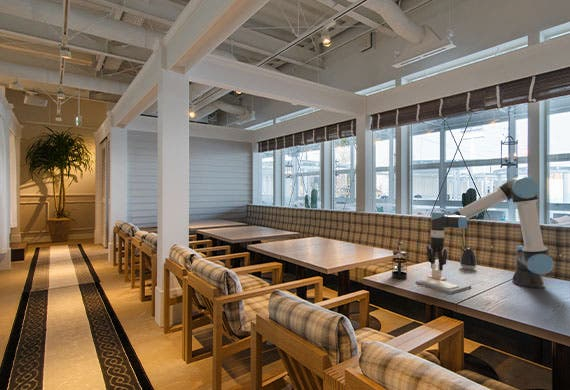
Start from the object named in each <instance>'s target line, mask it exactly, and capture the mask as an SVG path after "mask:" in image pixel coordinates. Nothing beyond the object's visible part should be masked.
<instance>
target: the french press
mask: <svg viewBox="0 0 570 390" xmlns="http://www.w3.org/2000/svg"><path fill="white" fill-rule="evenodd" d="M396 244H398V246H401V245H402V244H404V242H403V241H397V242H396ZM407 254H408V251H406V250H401V248H399V249H396V250H395V249H394V250H392V255H393V256H396V255H399V257H392V259H391V263H392V264H391V270H392V271H391V278H392V279H393V280H397V281H407V280H408V268H407V267H404V266H402V264H408V259H407V258H404V257H407ZM401 255H402V256H403V258H402V257H401ZM393 263H397V266H396V265H395V266H393Z"/></svg>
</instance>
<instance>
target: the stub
mask: <svg viewBox="0 0 570 390" xmlns="http://www.w3.org/2000/svg"><path fill="white" fill-rule="evenodd" d="M426 278H434V279H438V280H440V281H442V280H446V279H447V277H443V276H442V275H441V276H438V267H436V268H434V269H432V268H431V274H429V275H427V276H426Z"/></svg>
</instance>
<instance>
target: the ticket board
mask: <svg viewBox="0 0 570 390" xmlns="http://www.w3.org/2000/svg"><path fill="white" fill-rule="evenodd" d="M415 284H417V285H419V286H424V287H427V288H429V289H434V290H437V291H439V292H444V293H446V294H449V295H452V294H455V293H460V292H464V291H467V290H470V289H472V285H471V284H467V283H463V282H460V281H459V282H458V281H455V280H451V279H448V278H446V280H442V281H440V280H438V279H434V278H428V277H426V278H423V279H418V280H415Z"/></svg>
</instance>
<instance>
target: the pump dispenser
mask: <svg viewBox="0 0 570 390" xmlns="http://www.w3.org/2000/svg"><path fill="white" fill-rule="evenodd" d="M460 250H461V252H462V254H461V255H460V260H459V264H460V266H461V268H462V269H464V270H467V271H473V270H475V269H476V267H477V264H478V263H477V258H476V255H475V254H476V253H475V252H474V250H473V249H472V248H470V247H466V248H464V249H463V248H462V249H460Z"/></svg>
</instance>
